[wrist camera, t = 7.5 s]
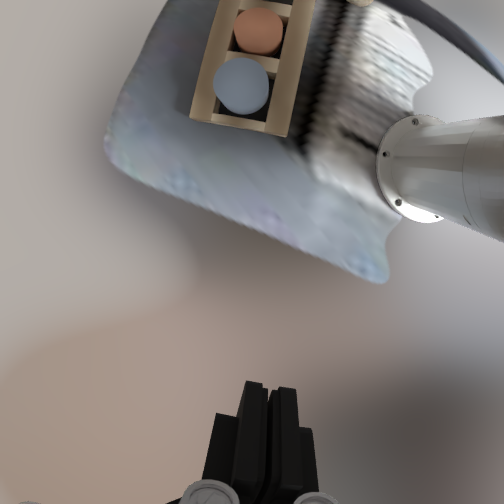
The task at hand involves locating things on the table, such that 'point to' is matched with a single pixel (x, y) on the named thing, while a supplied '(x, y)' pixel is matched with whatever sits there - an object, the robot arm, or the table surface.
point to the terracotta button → (258, 32)
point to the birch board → (277, 69)
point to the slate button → (241, 85)
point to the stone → (360, 2)
